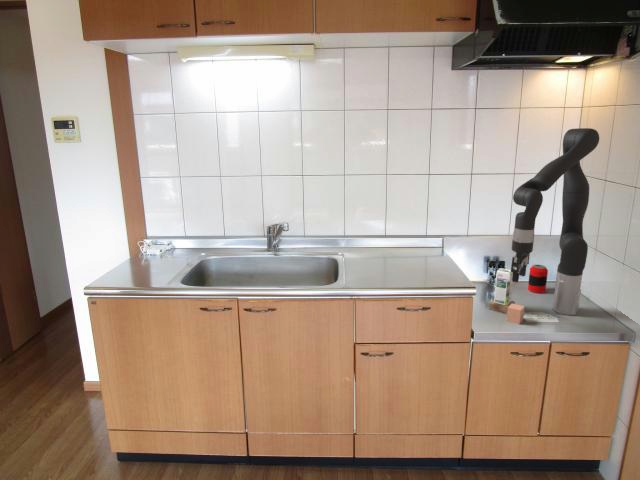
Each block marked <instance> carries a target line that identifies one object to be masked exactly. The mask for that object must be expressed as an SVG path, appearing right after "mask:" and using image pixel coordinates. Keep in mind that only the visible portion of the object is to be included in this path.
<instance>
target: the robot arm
mask: <svg viewBox="0 0 640 480" xmlns="http://www.w3.org/2000/svg"><path fill="white" fill-rule="evenodd" d="M562 139H563V140H562V155H561V156H558V157H557V158H555V159H552V160H551V161H550V162H548V163H547V164H546V165H544V166H543V167H542V168H541V169H540V170H539V171H538V172H537V173H536V174H535V175H534V177H532V178H530V179H528V180H527V181H526V182H524V183H523V184H521V185H520V186H519V187H517V188H516V189H515V191H514V193H513V195H512V200H513V202H514V203H515V205H518V206H522V207H524V208H525V209H524V211H519V212H517V213H516V215H515V220H514V229H513V233H512V242H511V250H512V252H513V253H514V252H515V255H514V256H512V257H511V267H510V270H511V272H513V277H512V281H513V283H514V282H515V283H518V282H519V280H520V279H519V278H520V277H526V274H527V273H526V272H527V268H528V265H529V264H530V253H533V251H534V242H535V226H536V225H535V224H536V218H537V217H538V214H539V212H540V209H541V207H542V206H543V205H542V204H543V201H544V199H543V198H544V196H543V193H542V192H546V191H548V190H550V189H551V188H552V186H553V185H555V183H556V182H557V181H558V180H559V179H560V178H561V177H562V176H563V183H562V184H563V185H562V198H561V201H562V204H561V205H562V207H561V208H562V209H561V210H562V211H561V213H562V224H561V226H562V227H561V232H560V238H559V244H558V245H559V248H560V250H561V253H560V260H559V264H558V265H557V269H556V277H555V278H556V279H555V284H554V294H553V300H552V301H553V302H552V307H551V308H552V310H553V311H554V312H555V313H558V314H561V315H564V316H576V315H577V314H578V311H579V308H580V301H581V295H582V294H581V293H582V290H581V289H582V288H581V287H582V282H583V281H582V278H583V273H584V269H586V263H587V257H588V250H589V246H588V243H587V242H586V240H585V239H584V233H583V230H584V229H583V227H584V225H583V224H584V218H585V215H586V212H587V210H588V205H589V201H590V183H589V180H588V179H587V177H586V175H585V172H584V170H583V168H582V166H581V160H582V159H584V158H585V157H587V156H589V155H590V154H591V153H592V152H593V151H594V150H596V148H597V147H598V145H599V143H600V134H599V132H598V130H596V129H595V128H590V127H589V128H588V127H587V128H570V129H568V130H567V131H566V132H565V133H564V136H563V138H562Z"/></svg>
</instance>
